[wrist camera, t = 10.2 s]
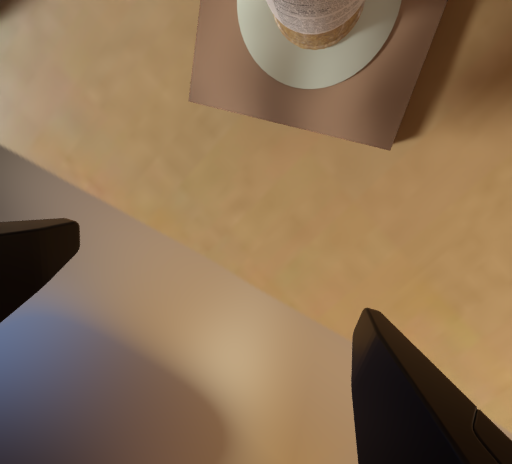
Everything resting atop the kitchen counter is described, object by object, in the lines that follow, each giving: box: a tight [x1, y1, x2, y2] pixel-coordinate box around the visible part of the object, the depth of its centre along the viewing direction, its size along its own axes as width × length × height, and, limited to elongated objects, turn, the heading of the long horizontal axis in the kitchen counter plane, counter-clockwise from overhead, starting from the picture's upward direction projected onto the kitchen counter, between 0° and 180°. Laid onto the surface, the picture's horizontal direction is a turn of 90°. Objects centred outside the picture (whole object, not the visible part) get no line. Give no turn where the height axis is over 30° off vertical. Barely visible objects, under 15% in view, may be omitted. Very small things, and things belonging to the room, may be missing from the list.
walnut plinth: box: [189, 0, 448, 150], centre depth 16 cm, size 12×12×2 cm
